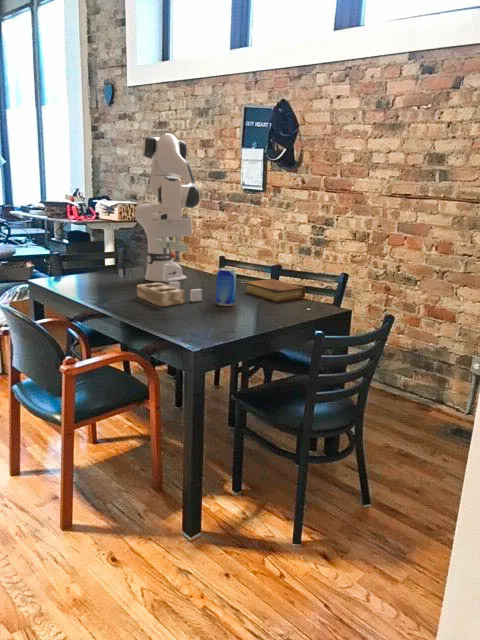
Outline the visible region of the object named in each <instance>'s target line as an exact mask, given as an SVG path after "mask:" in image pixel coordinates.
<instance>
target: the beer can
mask: <svg viewBox="0 0 480 640" xmlns="http://www.w3.org/2000/svg"><path fill="white" fill-rule="evenodd" d="M236 290H237V273H236V272H235V268H232V267H220V268H219V269H218V270H217V274H216V290H215V291H216V292H215V303H216V304H217V305H219V306H225V307H228V306H229V307H230V306H233V305H235V303H236V292H237V291H236Z"/></svg>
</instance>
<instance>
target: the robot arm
mask: <svg viewBox="0 0 480 640" xmlns="http://www.w3.org/2000/svg"><path fill="white" fill-rule="evenodd" d="M141 150H142V152H143V155H144V157H145V158H148V159H149V160H152V163H151V167H150V168H151V169H150V177H149V192H150V194H152V195H153V196H154V197H156V198H157V202H158V203H143V204H139V205H137V206H136V208H135V209H134V217H135V220H136V221H137V223H138V224H140V226H141V227H142V228H143V229H144V232H145V234H146V238H147V252H146V253H147V254H146V262H147V263H146V264H147V267H146V272H145V276H144V280H146V281H151V282H161V283H169V282H178V281H182V280H187V276H186V275H184V274H183V269H182V266H181V265H179V264H178V262H173V259H175V253H171V252H170V249H167V256H169V259H161V256H163V248H162V247H157V246H155V239H161V240H162V241H163V243H164V248H168V247H169V246H168V245H169V244H168V243H167V242H166V240H169V241H170V238H172V237H173V238H175V241H174V242H179V243H180V241H181V238H182V237H191V235H193V230H192V229H193V228H192V218H191V216H190V215H189V214H183V210H182V209H183V208H190V209H193V208H195V207H196V206H198V205H199V203H200V201H201V200H200V199H201V198H200V197H201V194H200V191H199V188H198V186H197V183H196V181H195V180H196V179H195V178H194V175H193V171H192V167H191V166H190V164H189V161H188V160H186V159H187V156H188V152H189V150H188V145H187V143H186V141H184V140H181V139H177V137H176V136H175V135H174V134H172V133H168V132H167V133H163V134H162V135H160V136H151V135H149V136H146V137H145V138H144V140H143V143H142V148H141ZM174 175H177V176H174ZM178 176H179V177H178ZM180 177H181V178H180ZM181 179H183V183H184V184H182V180H181Z"/></svg>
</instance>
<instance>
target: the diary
mask: <svg viewBox="0 0 480 640" xmlns="http://www.w3.org/2000/svg"><path fill="white" fill-rule="evenodd" d="M244 284H245V285H246V290H245V291H244V293H246V294H249V295H252V296H255V297H260V298H263V299H265V300H268V301H269V300H270V301H273V302H275V303H278V302H279V303H280V302H285V301H291V300H298V299H299V300H300V299H305V298H306V287H305V286H300V285H297V284H293V283H290V282H285V281H282V280H277V279H273V278H268V279H261V280H251V281H245V282H244Z"/></svg>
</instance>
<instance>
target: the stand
mask: <svg viewBox="0 0 480 640" xmlns="http://www.w3.org/2000/svg"><path fill="white" fill-rule="evenodd" d="M180 284H181V282H180V281H171V282H168V285H169V286H172V287H175V288H178V289H181V288H180V287H181V285H180ZM189 292H190V293H189V301H190V302H193V303H194V302H200V301H203V289H201V288H195V289H190V291H189Z"/></svg>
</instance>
